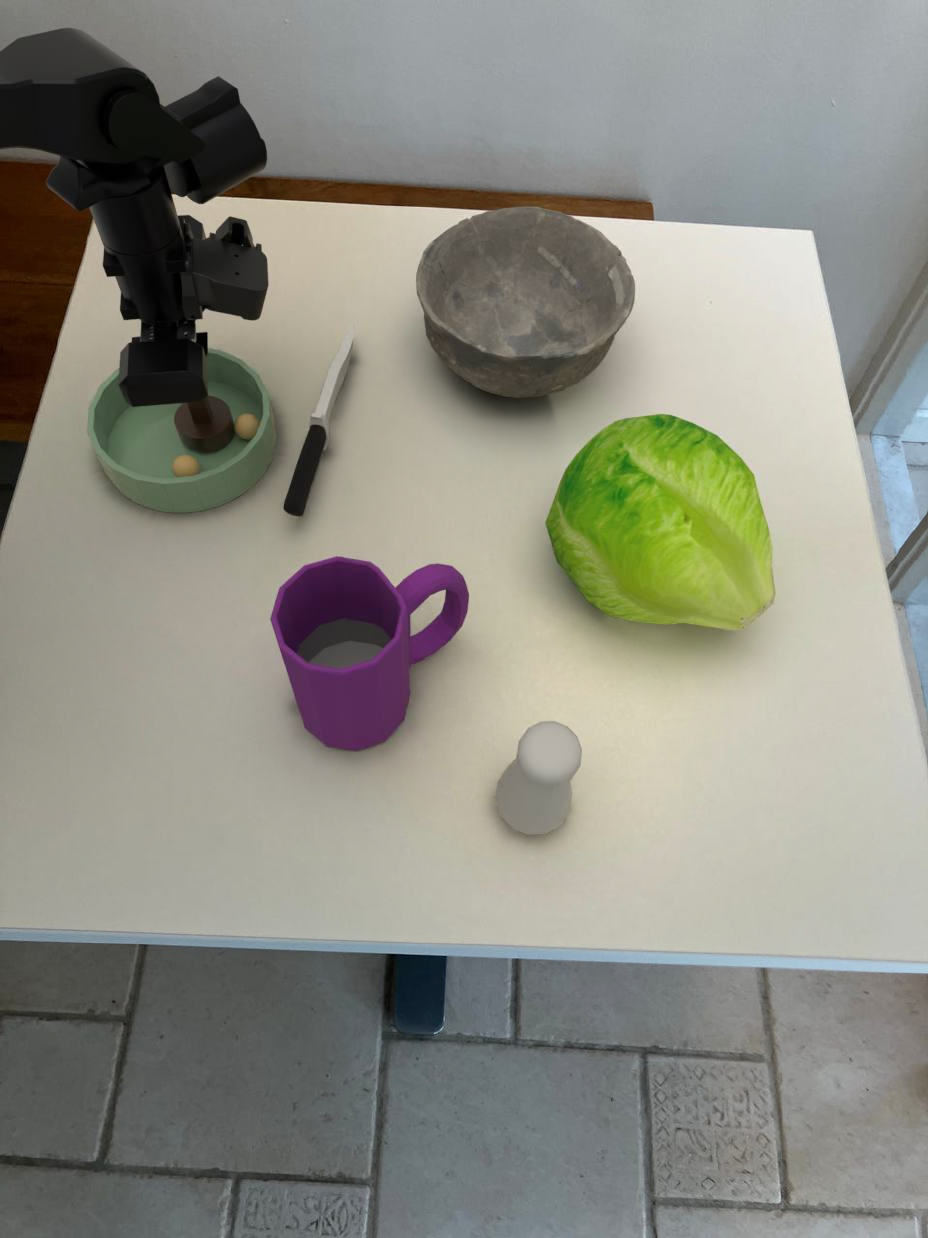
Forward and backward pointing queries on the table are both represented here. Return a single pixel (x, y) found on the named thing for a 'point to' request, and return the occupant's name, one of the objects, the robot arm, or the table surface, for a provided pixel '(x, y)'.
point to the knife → (318, 431)
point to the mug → (359, 643)
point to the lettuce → (664, 526)
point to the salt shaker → (540, 779)
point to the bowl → (523, 299)
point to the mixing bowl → (149, 443)
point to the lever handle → (204, 424)
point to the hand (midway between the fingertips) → (190, 381)
